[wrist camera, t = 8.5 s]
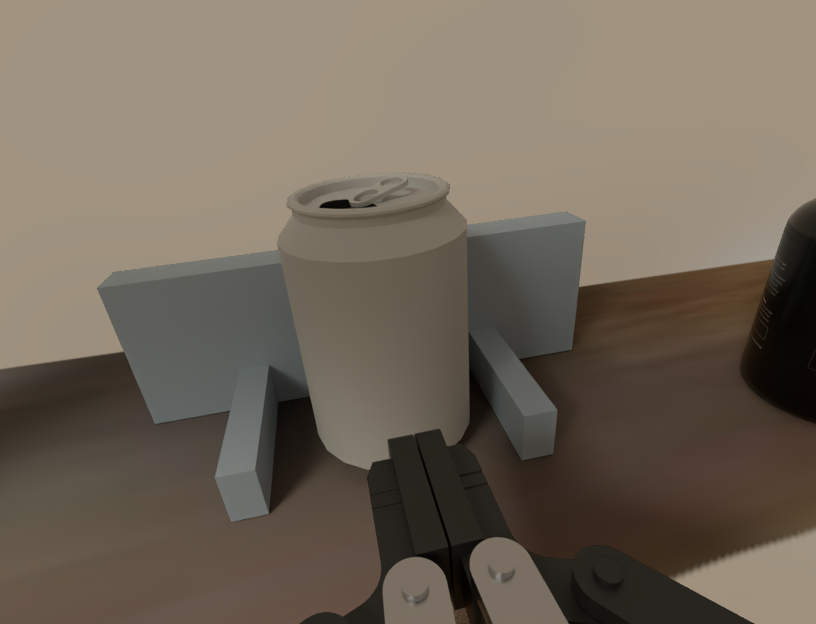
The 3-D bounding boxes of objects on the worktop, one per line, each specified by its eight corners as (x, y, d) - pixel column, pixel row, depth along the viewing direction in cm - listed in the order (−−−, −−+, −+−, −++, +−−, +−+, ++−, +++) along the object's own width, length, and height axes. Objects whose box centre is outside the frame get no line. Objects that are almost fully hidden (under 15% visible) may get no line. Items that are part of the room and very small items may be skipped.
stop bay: (99, 549, 18) (0, 383, 14) (165, 401, 26) (113, 271, 23) (654, 432, 21) (690, 273, 18) (556, 333, 30) (566, 211, 26)
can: (294, 424, 24) (237, 190, 18) (407, 366, 28) (388, 159, 22) (376, 517, 18) (331, 225, 13) (502, 428, 22) (509, 176, 17)
